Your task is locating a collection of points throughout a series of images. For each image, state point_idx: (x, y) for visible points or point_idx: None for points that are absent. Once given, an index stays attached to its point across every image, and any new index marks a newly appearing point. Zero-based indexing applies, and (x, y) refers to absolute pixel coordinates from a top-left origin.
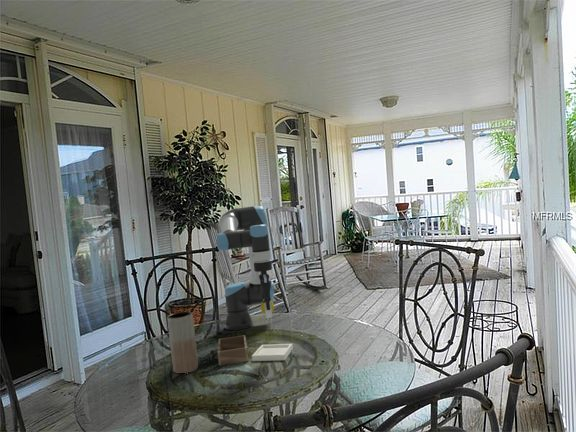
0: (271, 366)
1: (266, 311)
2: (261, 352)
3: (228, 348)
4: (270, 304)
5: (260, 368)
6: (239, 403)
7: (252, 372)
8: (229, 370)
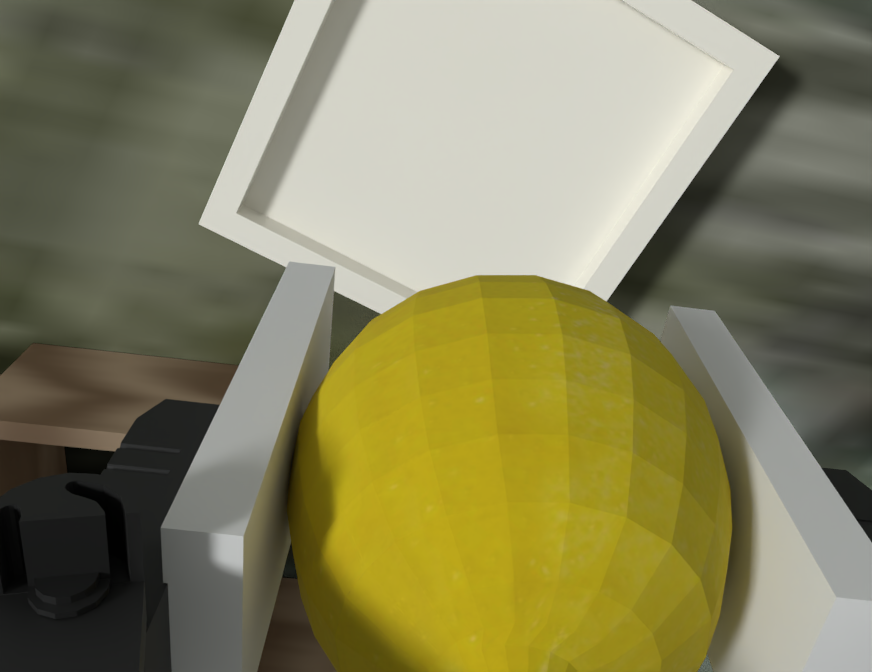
0: (827, 228)
1: None
2: (413, 261)
3: None
4: (857, 539)
5: (798, 332)
6: None
7: (842, 410)
8: None
